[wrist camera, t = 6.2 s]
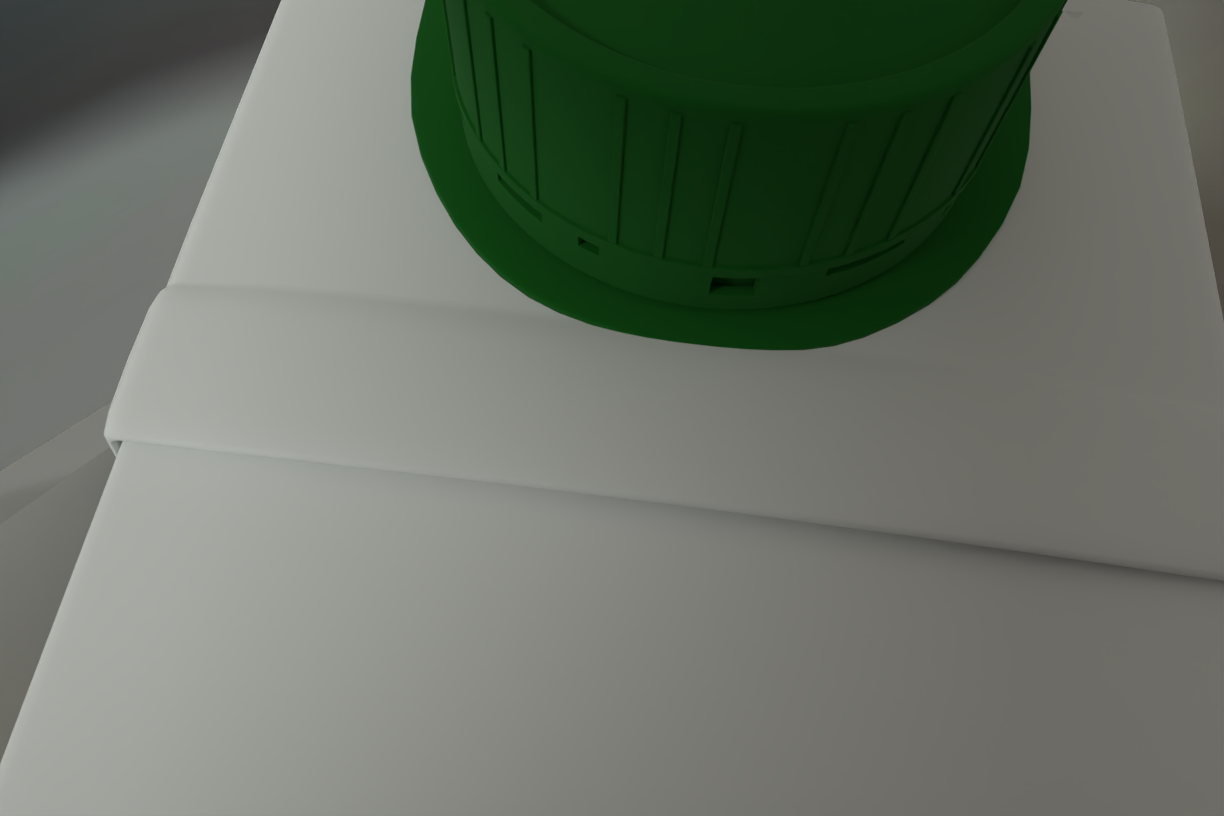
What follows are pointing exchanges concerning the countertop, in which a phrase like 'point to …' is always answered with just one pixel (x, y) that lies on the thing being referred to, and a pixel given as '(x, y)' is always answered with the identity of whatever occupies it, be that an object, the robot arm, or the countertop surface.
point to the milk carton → (666, 429)
